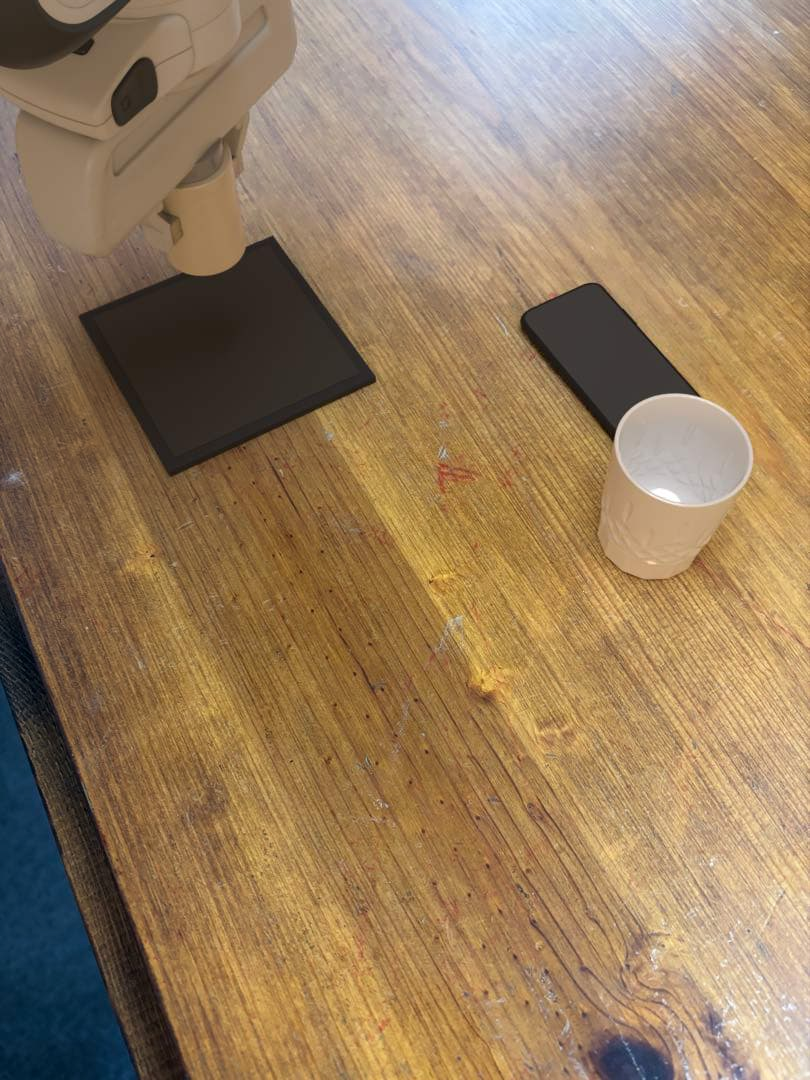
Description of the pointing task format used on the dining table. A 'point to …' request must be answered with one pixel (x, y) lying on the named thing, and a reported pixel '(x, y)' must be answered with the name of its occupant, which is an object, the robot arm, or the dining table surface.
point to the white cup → (670, 483)
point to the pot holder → (224, 355)
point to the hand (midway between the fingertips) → (196, 209)
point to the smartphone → (601, 352)
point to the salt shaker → (207, 216)
